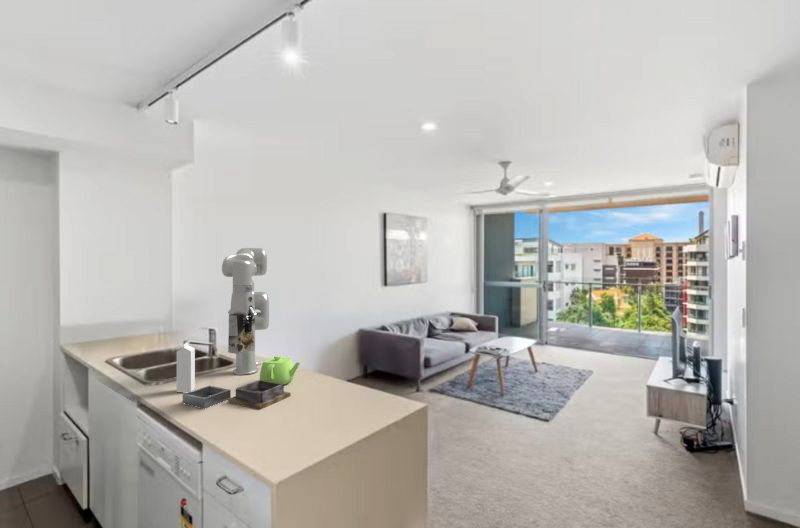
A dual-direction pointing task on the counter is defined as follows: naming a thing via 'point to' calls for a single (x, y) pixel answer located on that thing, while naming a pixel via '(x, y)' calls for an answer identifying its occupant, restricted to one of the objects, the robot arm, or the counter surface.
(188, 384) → the milk
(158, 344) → the counter surface
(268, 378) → the teapot
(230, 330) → the coffee box
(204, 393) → the grey square frame
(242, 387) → the dock
